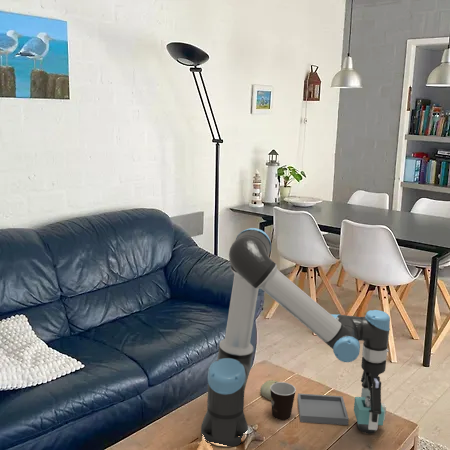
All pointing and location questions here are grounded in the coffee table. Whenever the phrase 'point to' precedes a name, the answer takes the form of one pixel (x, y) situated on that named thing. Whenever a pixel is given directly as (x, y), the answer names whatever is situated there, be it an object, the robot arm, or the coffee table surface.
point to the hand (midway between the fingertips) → (368, 417)
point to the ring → (366, 411)
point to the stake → (364, 427)
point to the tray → (322, 409)
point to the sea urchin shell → (267, 389)
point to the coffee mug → (282, 400)
